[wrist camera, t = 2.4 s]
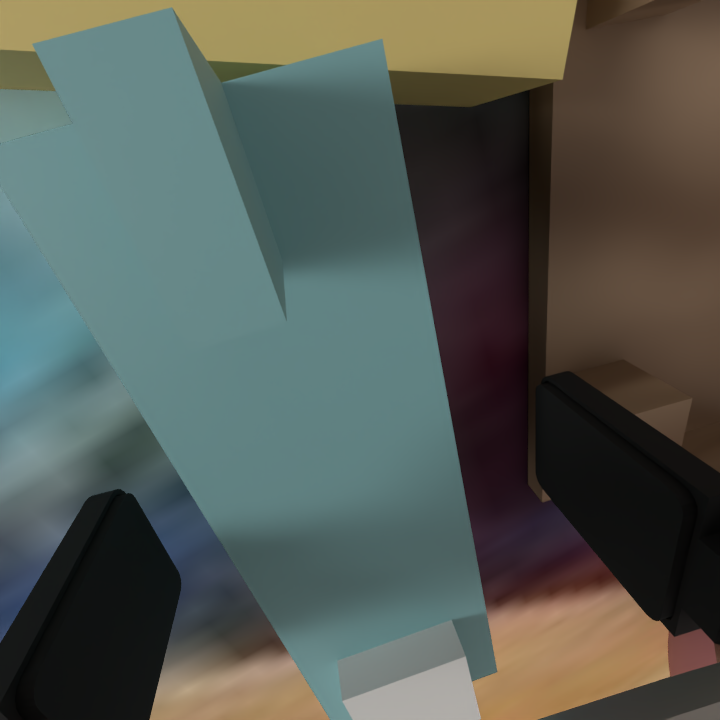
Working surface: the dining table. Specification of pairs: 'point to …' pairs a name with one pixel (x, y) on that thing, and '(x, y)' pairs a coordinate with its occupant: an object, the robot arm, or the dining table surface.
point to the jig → (631, 217)
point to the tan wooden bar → (330, 39)
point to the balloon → (690, 652)
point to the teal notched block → (273, 341)
